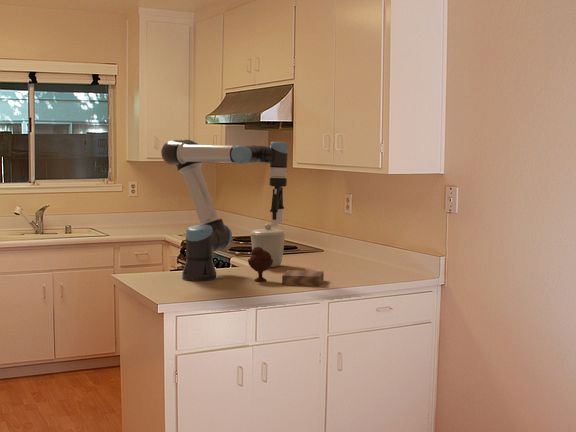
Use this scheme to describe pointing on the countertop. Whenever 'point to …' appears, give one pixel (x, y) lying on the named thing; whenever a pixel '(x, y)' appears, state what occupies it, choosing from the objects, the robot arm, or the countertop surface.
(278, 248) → the canister
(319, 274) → the walnut base
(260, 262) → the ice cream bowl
